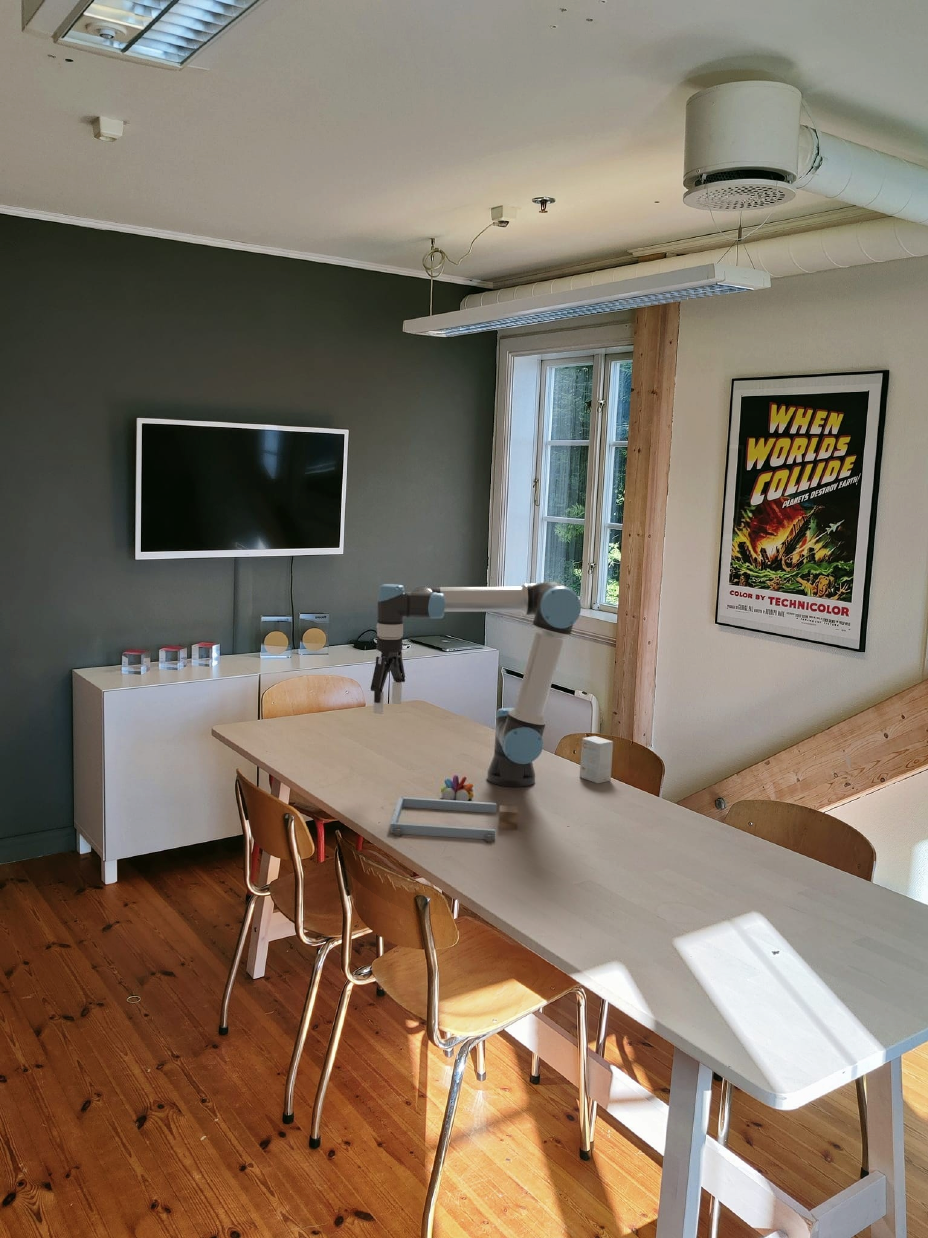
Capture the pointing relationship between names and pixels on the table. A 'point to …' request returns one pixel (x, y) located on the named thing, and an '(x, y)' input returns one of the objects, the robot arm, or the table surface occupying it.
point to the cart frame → (442, 830)
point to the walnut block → (508, 817)
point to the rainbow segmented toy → (457, 789)
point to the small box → (596, 759)
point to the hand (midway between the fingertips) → (387, 708)
